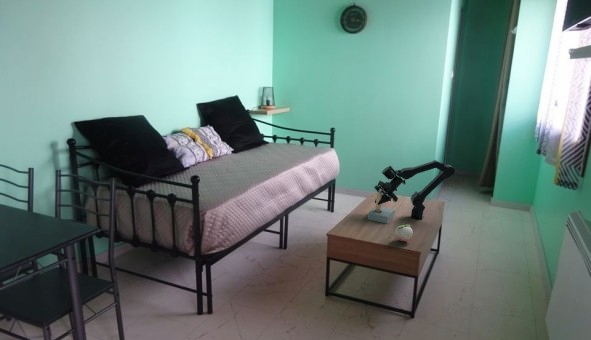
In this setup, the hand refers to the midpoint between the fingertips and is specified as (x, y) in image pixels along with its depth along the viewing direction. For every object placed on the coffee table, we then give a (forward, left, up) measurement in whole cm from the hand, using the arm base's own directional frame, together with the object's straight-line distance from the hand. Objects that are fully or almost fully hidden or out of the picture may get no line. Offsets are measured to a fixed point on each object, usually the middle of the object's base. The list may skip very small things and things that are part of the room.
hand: (376, 203), depth 243 cm
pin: (-1, -1, -7) cm, 7 cm away
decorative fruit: (-24, +26, -9) cm, 36 cm away
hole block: (-3, -3, -9) cm, 10 cm away
